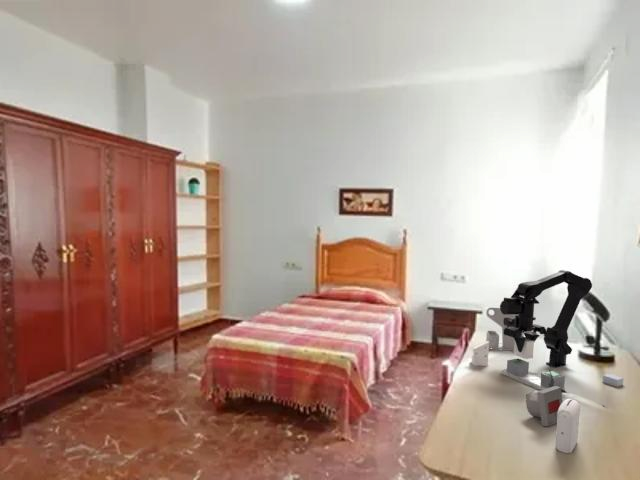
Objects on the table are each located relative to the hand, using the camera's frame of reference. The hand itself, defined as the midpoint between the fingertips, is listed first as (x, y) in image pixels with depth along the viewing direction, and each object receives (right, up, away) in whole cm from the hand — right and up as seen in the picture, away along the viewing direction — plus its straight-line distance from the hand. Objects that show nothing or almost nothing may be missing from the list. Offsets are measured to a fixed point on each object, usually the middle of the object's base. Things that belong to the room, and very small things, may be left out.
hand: (523, 351), depth 184 cm
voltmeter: (-11, -9, -41) cm, 43 cm away
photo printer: (-16, -11, -62) cm, 65 cm away
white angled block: (-17, -6, +3) cm, 18 cm away
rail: (-4, -8, -16) cm, 18 cm away
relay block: (+23, -7, -19) cm, 31 cm away
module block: (0, -2, 0) cm, 2 cm away
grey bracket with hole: (+4, -5, +28) cm, 29 cm away
